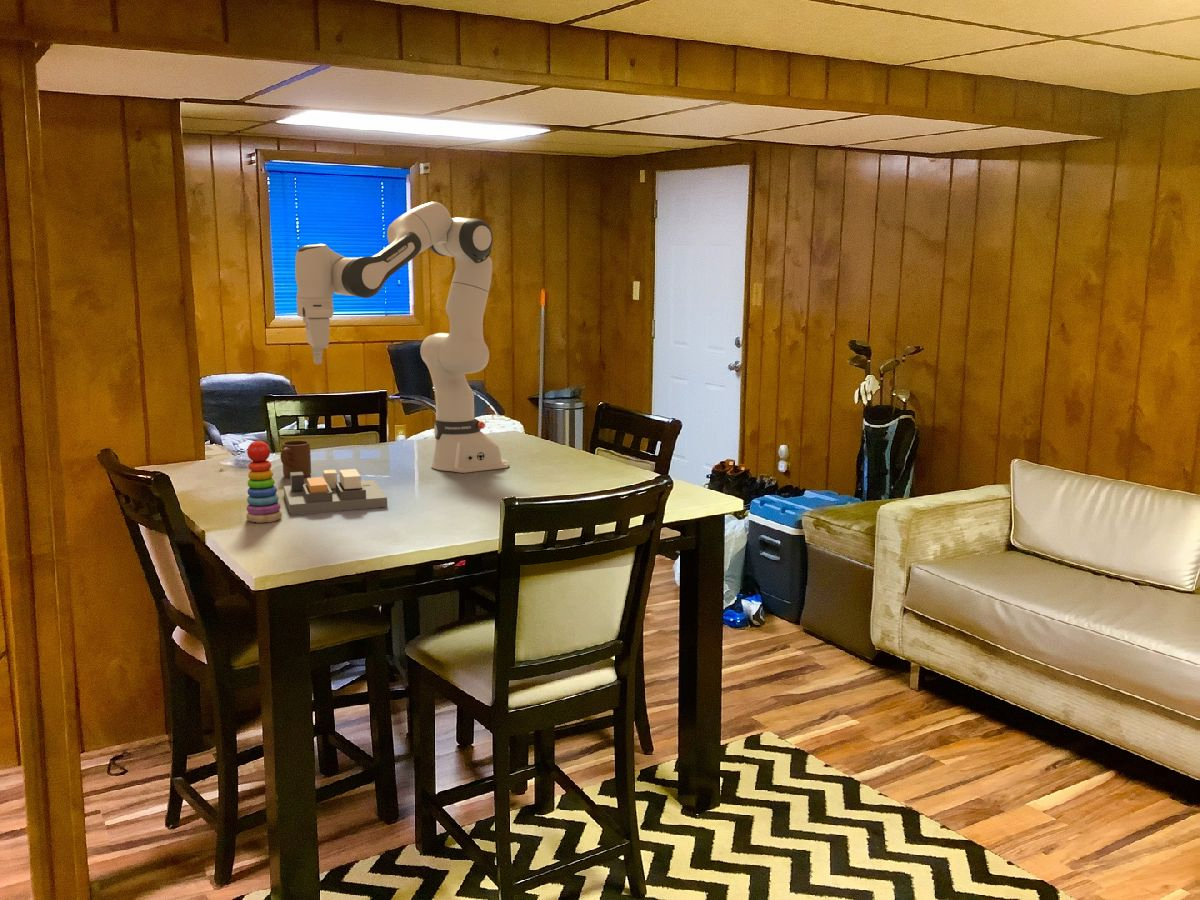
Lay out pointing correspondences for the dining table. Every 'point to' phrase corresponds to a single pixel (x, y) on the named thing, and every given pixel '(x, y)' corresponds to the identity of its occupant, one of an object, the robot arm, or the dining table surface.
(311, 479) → the button
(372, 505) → the grey base platform
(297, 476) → the slider
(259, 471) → the stacking toy
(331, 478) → the slider
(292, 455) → the mug
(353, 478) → the button
